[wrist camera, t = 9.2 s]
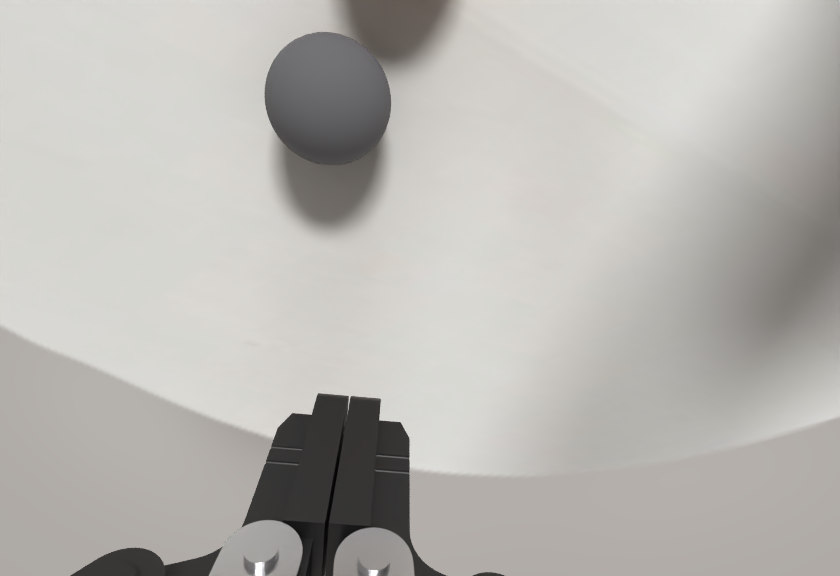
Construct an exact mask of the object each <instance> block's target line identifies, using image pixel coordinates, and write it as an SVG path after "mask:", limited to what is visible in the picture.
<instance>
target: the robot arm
mask: <svg viewBox="0 0 840 576" xmlns="http://www.w3.org/2000/svg"><path fill="white" fill-rule="evenodd" d="M348 401H349V396H343V395H331V394H320V393H318V395H317V398H316V402H315V405H314V409H313V413H312V415H307V414H295V413H292V414H291V415H290V416H289V417H288V418H287V419H286V420H285V421H284V422H283V423H282V424H281V425H280V426H279V427H278V429H277V432H276V435H275V437H274V440H273V443H272V447H271V449H270V451H269V455H268V457H267V460H266V464H265V465H264V469H263V471H262V474H261V477H260V479H259V482H258V485H257V488H256V491H255V494H254V496H253V499H252V502H251V505H250V507H249V510H248V513H247V516H246V519H245V521H244V523H243V526H242V527H241V529H239V530H237V531H236V532H234V534H232V535H231V536H230V537H229V538H228V540H227V541H226V542H225V544H224V546H223V547H222V548H220V549H218V550H217V551H215V552H213V553H211V554H208V555H206V556H203V557H199V558H196V559H192V560H187V561H183V562H179V563H174V564H170V565H165V566H164V564H163V562H162V560H161V559H160V557H159V556H158V555H156V554H155V553H153V552H152V551H150V550H146V549H142V548H127V549H121V550H117V551H114V552H111V553H109V554H106V555H104V556H102V557H100V558H98V559H97V560H95V561H93V562H92V563H90V564H89V565H87V566H85V567H84V568H82V569H81V570H79V571H77V572H76V573H74V574H72V575H71V576H446V575H443V574H441V573H439V572H437V571H435V570H433V569H432V568H430V567H429V566H428V565H427V564H425V563H424V562H423V561H422V560H421V558H420V557H419V556H418V555H417V553H416V552H415V550H414V548H413V545H412V543H411V540H410V531H409V530H410V529H409V528H410V526H409V437H408V435H407V433H406V431H405V430H404V428H403V426H402V424H401V422H390V421H379V414H380V402H381V399H378V398H367V397H355V396H351V398H350V404H349V410H348ZM347 414H348V415H347ZM325 571H326V572H325ZM473 576H504V575H501V574H497V573H488V572H485V573H479V574H476V575H473Z"/></svg>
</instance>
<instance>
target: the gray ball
mask: <svg viewBox="0 0 840 576" xmlns="http://www.w3.org/2000/svg"><path fill="white" fill-rule="evenodd" d="M265 105H266V110H267V114H268V117H269V120H270V122H271V125H272V127H273V129H274V130H275V132H276V134H277V135H278V137H279V138H280V139H281V140H282V142H283V143H284V144H285V145H286V146H287V147H288V148H289V149H291V150H292V151H293V152H294V153H296V154H298V155H299V156H301V157H302V158H304V159H307V160H309V161H312V162H315V163H318V164H325V165H340V164H345V163H349V162H352V161H354V160H357V159H359V158H361V157H362V156H364V155H365V154H367V153H368V152H369V151H370V150H371V149H372V148H374V147H375V145H376V144H377V143H378V142H379V140H380V139H381V137H382V135H383V134H384V132H385V129H386V127H387V124H388V121H389V117H390V111H391V95H390V89H389V85H388V81H387V78H386V76H385V73H384V71H383V69H382V67H381V66H380V64H379V63H378V61H377V60H376V58H375V57H374V56H373V55H372V54H371V53H370V52H369V51H368V50H367V49H366V48H365V47H364V46H362V45H361V44H360V43H358V42H356V41H355V40H353V39H351V38H349V37H346V36H343V35H340V34H336V33H331V32H317V33H312V34H307V35H304V36H302V37H300V38H297V39H295V40H294V41H292V42H291V43H289V44H288V45H287V46H285V47H284V48H283V49H282V50H281V51H280V53H279V54H278V55H277V57H276V58H275V59H274V61H273V63H272V65H271V67H270V69H269V72H268V75H267V79H266V85H265Z"/></svg>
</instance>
